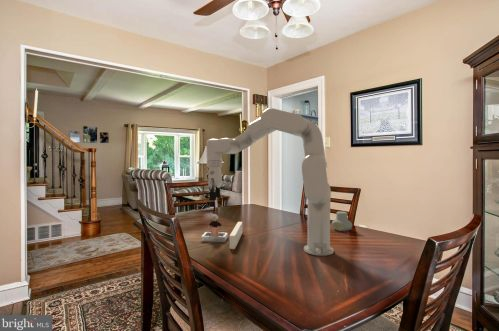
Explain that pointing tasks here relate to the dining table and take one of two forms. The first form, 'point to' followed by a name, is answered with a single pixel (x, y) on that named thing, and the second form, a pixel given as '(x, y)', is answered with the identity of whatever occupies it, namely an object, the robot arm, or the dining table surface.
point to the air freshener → (341, 222)
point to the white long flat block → (235, 235)
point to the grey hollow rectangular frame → (214, 237)
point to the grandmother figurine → (215, 225)
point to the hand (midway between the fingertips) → (215, 198)
